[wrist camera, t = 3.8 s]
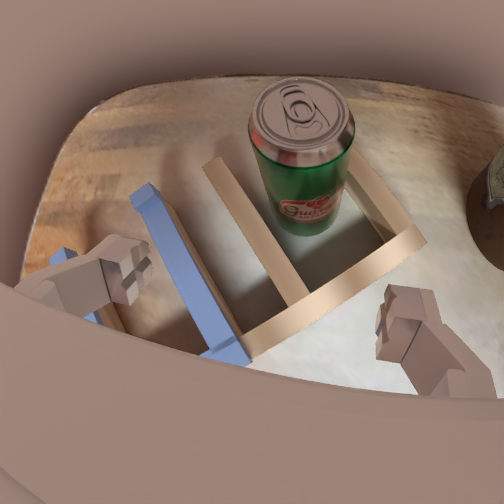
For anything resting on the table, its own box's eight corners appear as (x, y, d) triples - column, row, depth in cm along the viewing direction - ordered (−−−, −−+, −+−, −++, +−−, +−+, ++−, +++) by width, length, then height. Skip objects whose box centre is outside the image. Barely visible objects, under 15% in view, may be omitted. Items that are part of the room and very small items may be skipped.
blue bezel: (159, 191, 24) (149, 181, 22) (253, 361, 20) (247, 364, 18) (62, 263, 24) (48, 258, 22) (130, 423, 20) (117, 429, 18)
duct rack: (314, 124, 26) (314, 102, 23) (414, 252, 22) (427, 242, 20) (84, 271, 27) (63, 264, 24) (148, 412, 23) (130, 420, 20)
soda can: (284, 247, 24) (262, 172, 13) (264, 188, 26) (231, 88, 14) (347, 227, 24) (377, 139, 12) (324, 170, 25) (329, 61, 14)
